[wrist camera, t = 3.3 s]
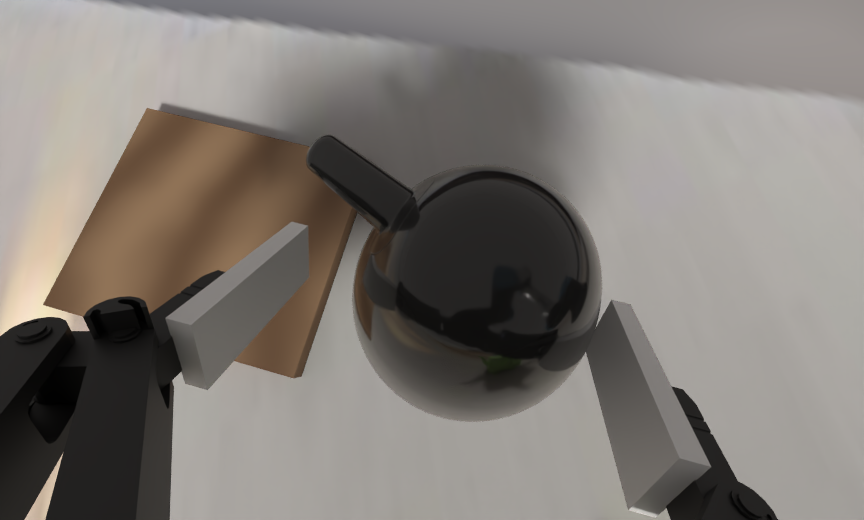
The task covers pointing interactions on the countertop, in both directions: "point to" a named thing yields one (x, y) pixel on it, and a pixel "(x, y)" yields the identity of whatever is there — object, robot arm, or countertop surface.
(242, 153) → the plate
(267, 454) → the countertop surface
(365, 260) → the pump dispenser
